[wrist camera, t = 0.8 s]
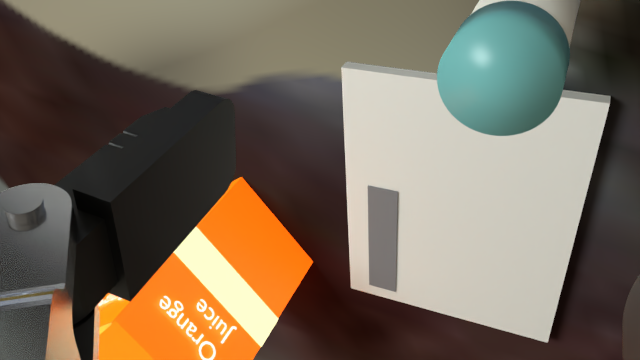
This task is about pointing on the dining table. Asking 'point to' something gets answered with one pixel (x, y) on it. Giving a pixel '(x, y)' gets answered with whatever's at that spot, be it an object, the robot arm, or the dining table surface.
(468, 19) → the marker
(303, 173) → the dining table surface
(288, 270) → the orange juice
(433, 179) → the paper sheet
